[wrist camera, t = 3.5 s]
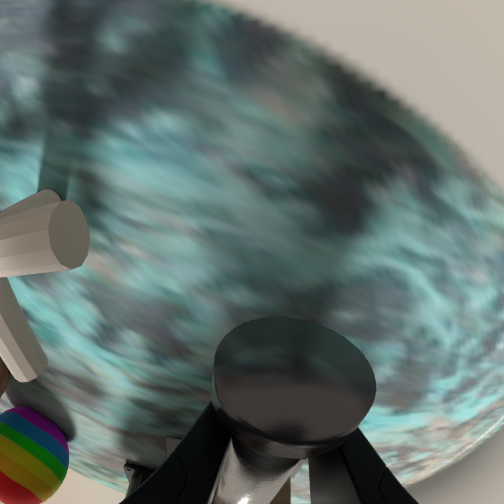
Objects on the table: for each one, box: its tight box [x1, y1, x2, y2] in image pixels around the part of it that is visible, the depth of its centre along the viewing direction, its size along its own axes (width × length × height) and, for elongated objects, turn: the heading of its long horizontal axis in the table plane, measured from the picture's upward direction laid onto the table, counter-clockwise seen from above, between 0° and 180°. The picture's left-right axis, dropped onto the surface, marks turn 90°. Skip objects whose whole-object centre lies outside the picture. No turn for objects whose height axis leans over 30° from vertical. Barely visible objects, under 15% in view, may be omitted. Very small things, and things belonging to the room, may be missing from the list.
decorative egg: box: [0, 406, 69, 504], centre depth 17 cm, size 8×8×10 cm
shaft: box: [211, 317, 376, 504], centre depth 11 cm, size 17×4×4 cm, turn 170°
